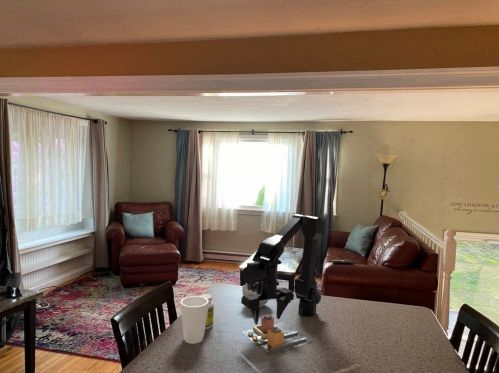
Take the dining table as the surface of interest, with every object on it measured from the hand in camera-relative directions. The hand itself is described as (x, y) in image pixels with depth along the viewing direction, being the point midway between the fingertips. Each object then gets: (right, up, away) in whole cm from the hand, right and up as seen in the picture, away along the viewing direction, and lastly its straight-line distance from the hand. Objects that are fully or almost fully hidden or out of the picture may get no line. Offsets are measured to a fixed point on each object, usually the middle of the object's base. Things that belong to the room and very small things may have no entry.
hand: (267, 321), depth 123 cm
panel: (+3, -5, -3) cm, 7 cm away
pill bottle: (-23, -4, +5) cm, 23 cm away
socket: (0, -5, 0) cm, 5 cm away
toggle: (+2, -4, -8) cm, 10 cm away
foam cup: (-25, -4, -5) cm, 26 cm away
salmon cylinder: (0, -4, 0) cm, 4 cm away
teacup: (-3, -3, +23) cm, 24 cm away
